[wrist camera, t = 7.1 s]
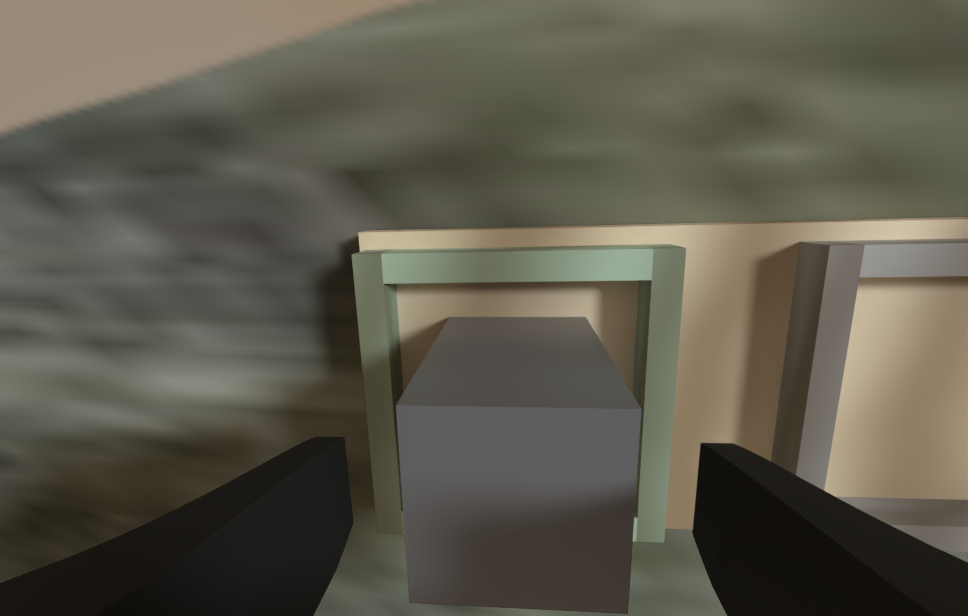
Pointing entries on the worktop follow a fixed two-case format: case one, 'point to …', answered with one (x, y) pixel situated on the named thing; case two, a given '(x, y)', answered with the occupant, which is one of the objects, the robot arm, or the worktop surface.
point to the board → (715, 348)
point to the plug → (519, 468)
